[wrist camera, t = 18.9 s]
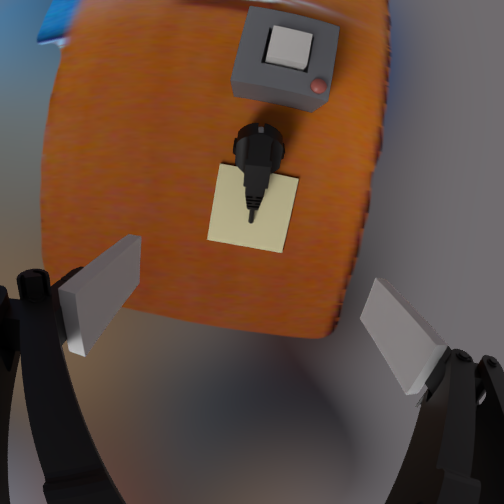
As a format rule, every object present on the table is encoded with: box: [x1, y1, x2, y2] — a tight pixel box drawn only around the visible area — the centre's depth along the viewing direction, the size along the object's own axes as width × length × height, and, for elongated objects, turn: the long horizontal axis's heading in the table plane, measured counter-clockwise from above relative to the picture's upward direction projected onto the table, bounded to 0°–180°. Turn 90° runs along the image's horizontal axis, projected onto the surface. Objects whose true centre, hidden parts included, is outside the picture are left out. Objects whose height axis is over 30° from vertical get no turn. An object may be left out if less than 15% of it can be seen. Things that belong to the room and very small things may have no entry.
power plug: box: [233, 123, 285, 224], centre depth 32 cm, size 6×8×12 cm
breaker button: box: [265, 25, 313, 72], centre depth 23 cm, size 4×4×4 cm
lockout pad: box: [207, 164, 299, 253], centre depth 35 cm, size 10×10×1 cm
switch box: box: [231, 6, 340, 113], centre depth 26 cm, size 10×10×8 cm
